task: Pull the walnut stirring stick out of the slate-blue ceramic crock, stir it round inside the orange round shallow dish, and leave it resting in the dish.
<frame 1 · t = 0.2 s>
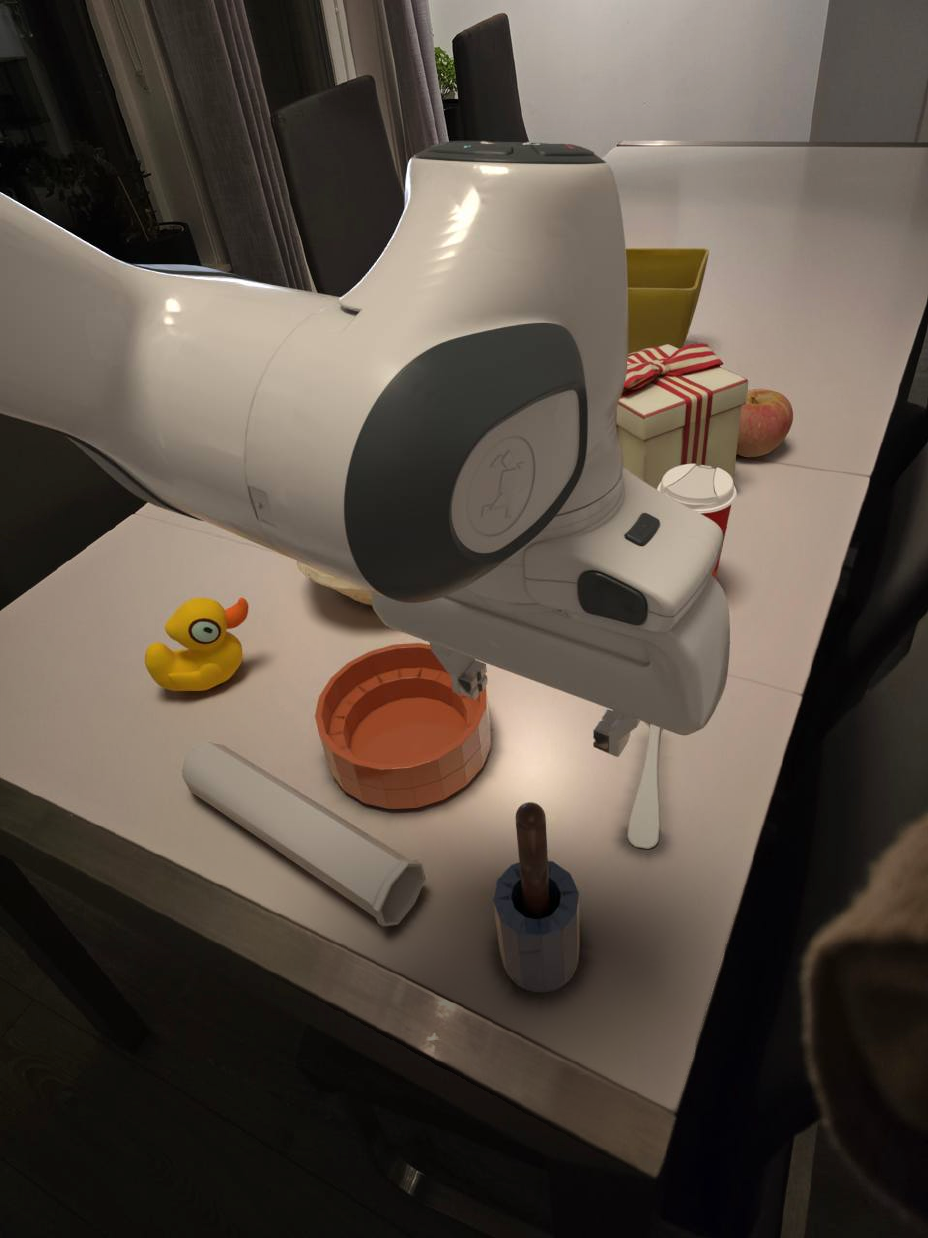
hand: (538, 716, 48), 22 cm above the table, tool pointing down, fingers open, 8 cm apart
duckling: (213, 681, 85), on the table
gift box: (641, 483, 106), on the table
apple: (750, 451, 110), on the table
orange round shallow dish: (410, 745, 75), on the table
stirring stick: (539, 950, 58), point 1 cm above the table, touching crock
bowl: (382, 587, 95), on the table
crock: (540, 954, 59), on the table
fork: (652, 751, 72), on the table
flower pot: (633, 374, 132), on the table
paper cup: (685, 592, 89), on the table
tube: (295, 839, 69), on the table
candle: (459, 399, 131), on the table
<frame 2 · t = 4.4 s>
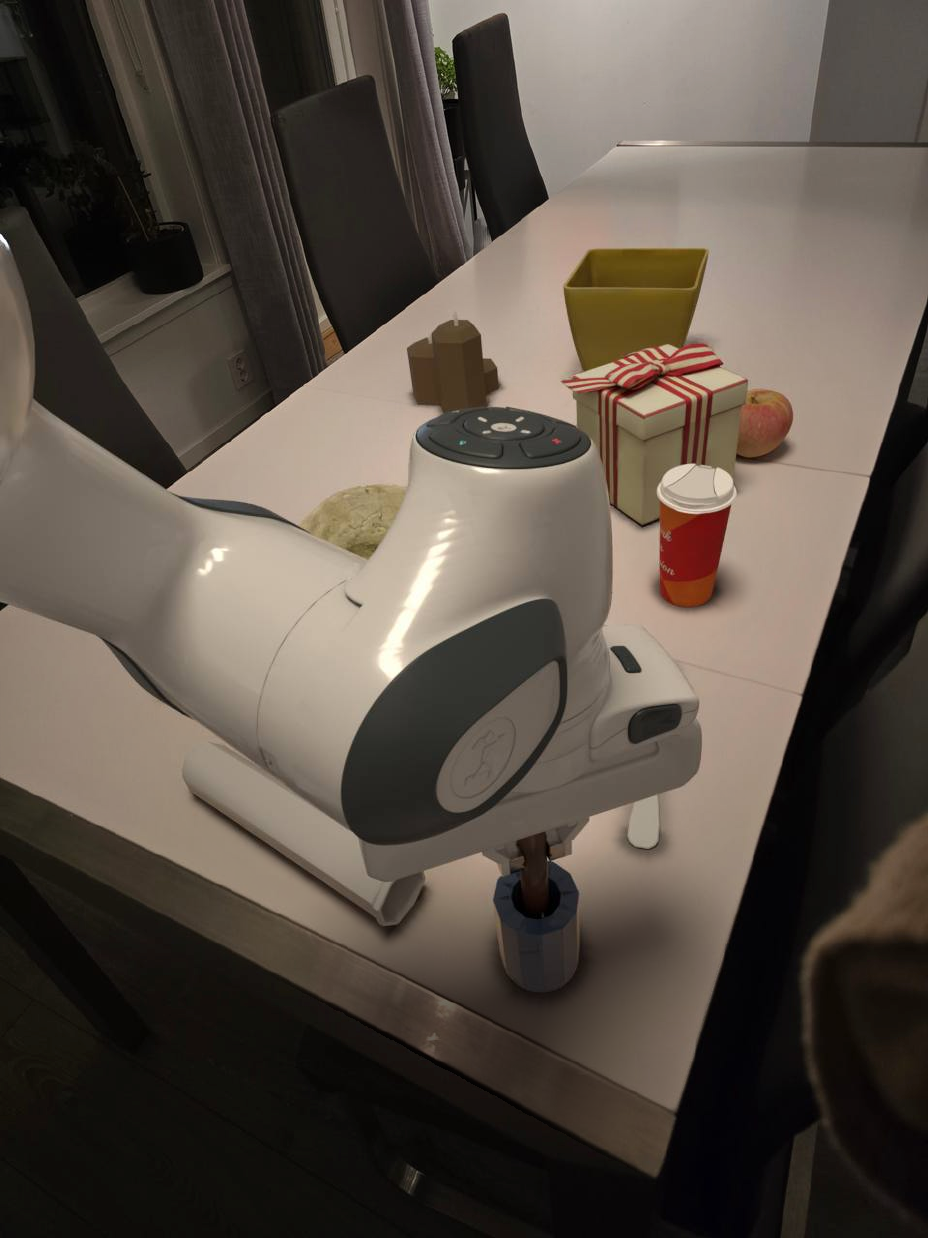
hand: (533, 857, 51), 13 cm above the table, tool pointing down, fingers closed on stirring stick, 2 cm apart
stirring stick: (539, 950, 58), point 1 cm above the table, touching crock, gripper
everything else where it was.
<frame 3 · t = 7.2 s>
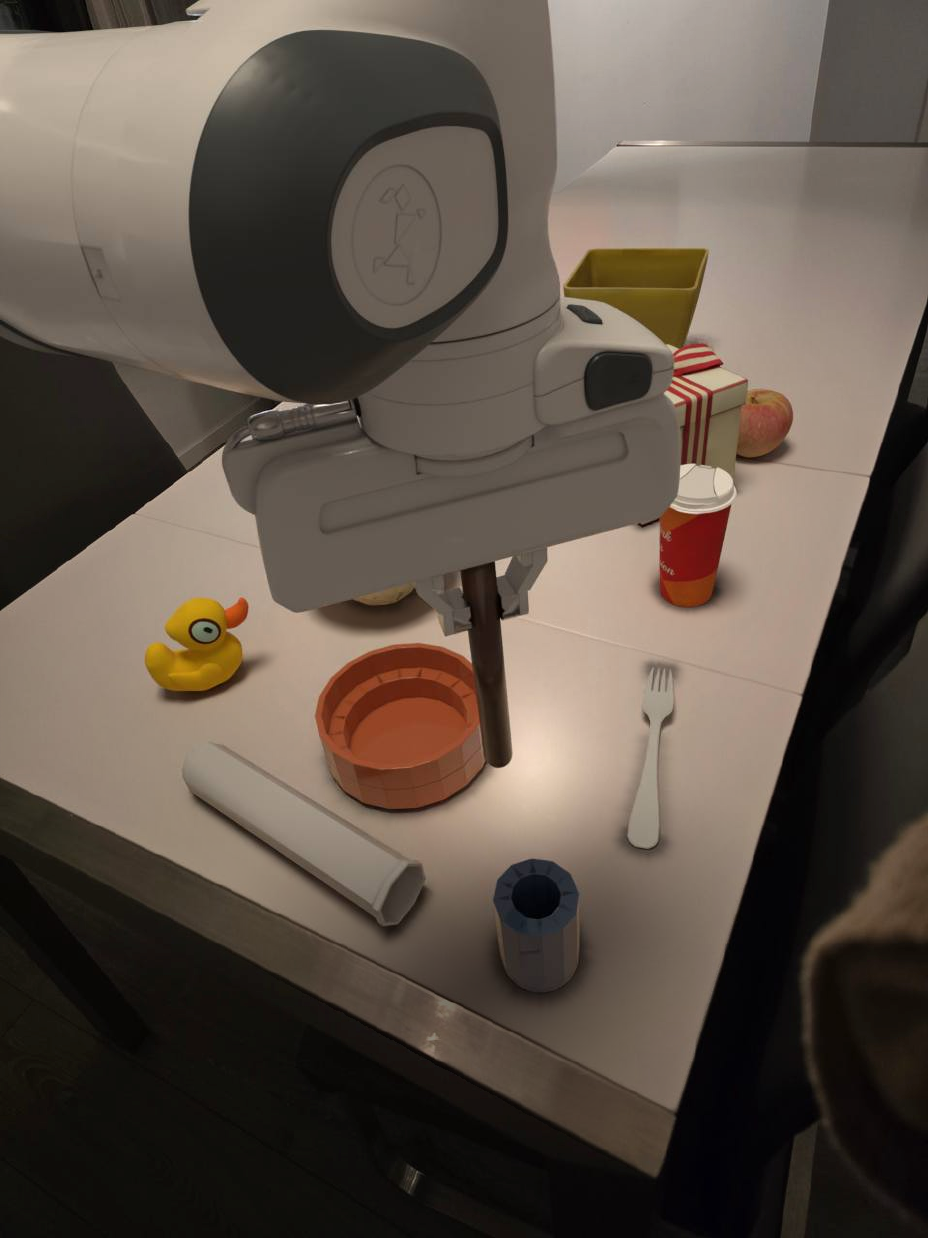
hand: (483, 618, 43), 29 cm above the table, tool pointing down, fingers closed on stirring stick
stirring stick: (499, 762, 51), point 17 cm above the table, touching gripper
everything else where it was.
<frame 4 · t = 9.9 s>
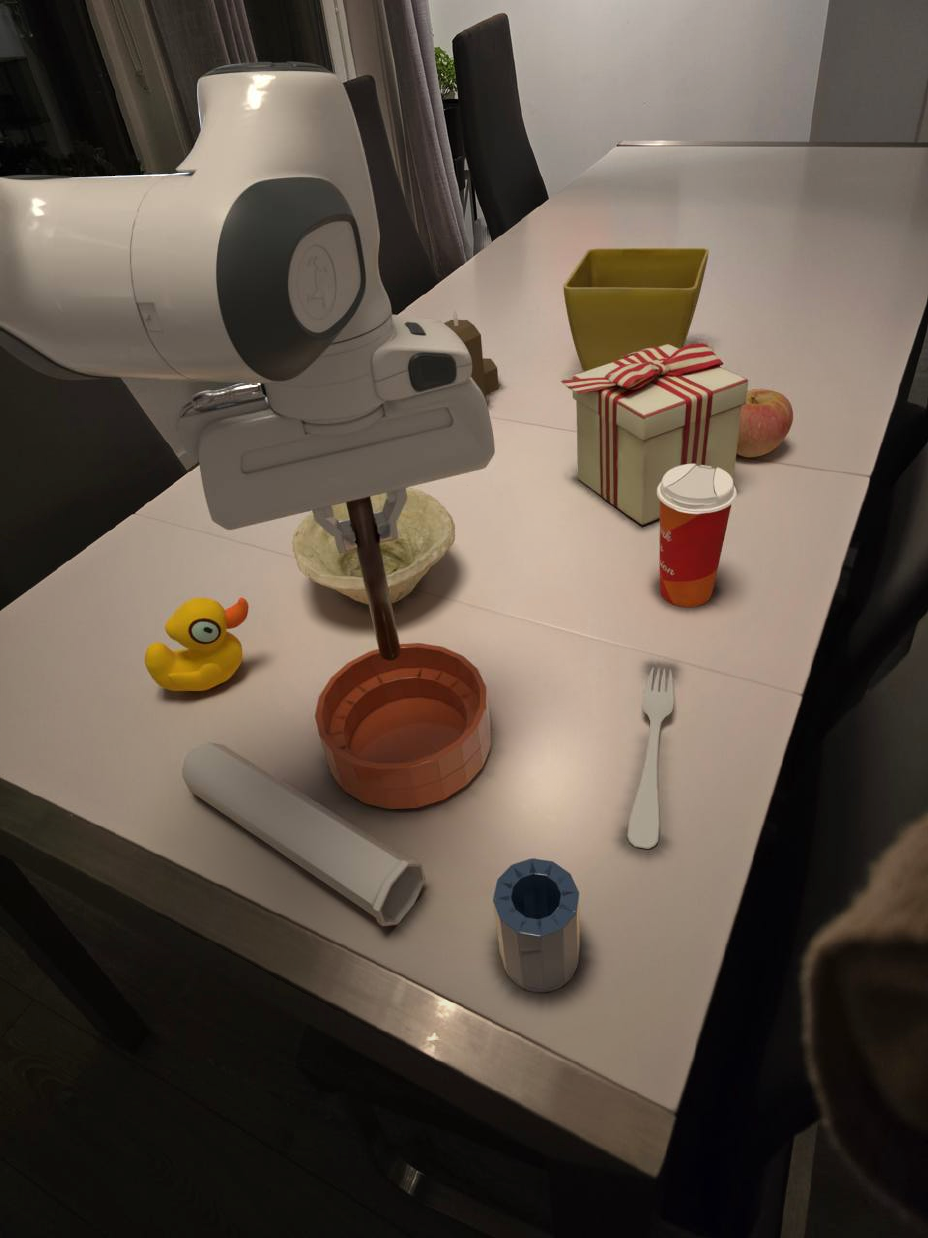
hand: (367, 542, 60), 23 cm above the table, tool pointing down, fingers closed on stirring stick
stirring stick: (391, 658, 68), point 11 cm above the table, touching gripper
everything else where it was.
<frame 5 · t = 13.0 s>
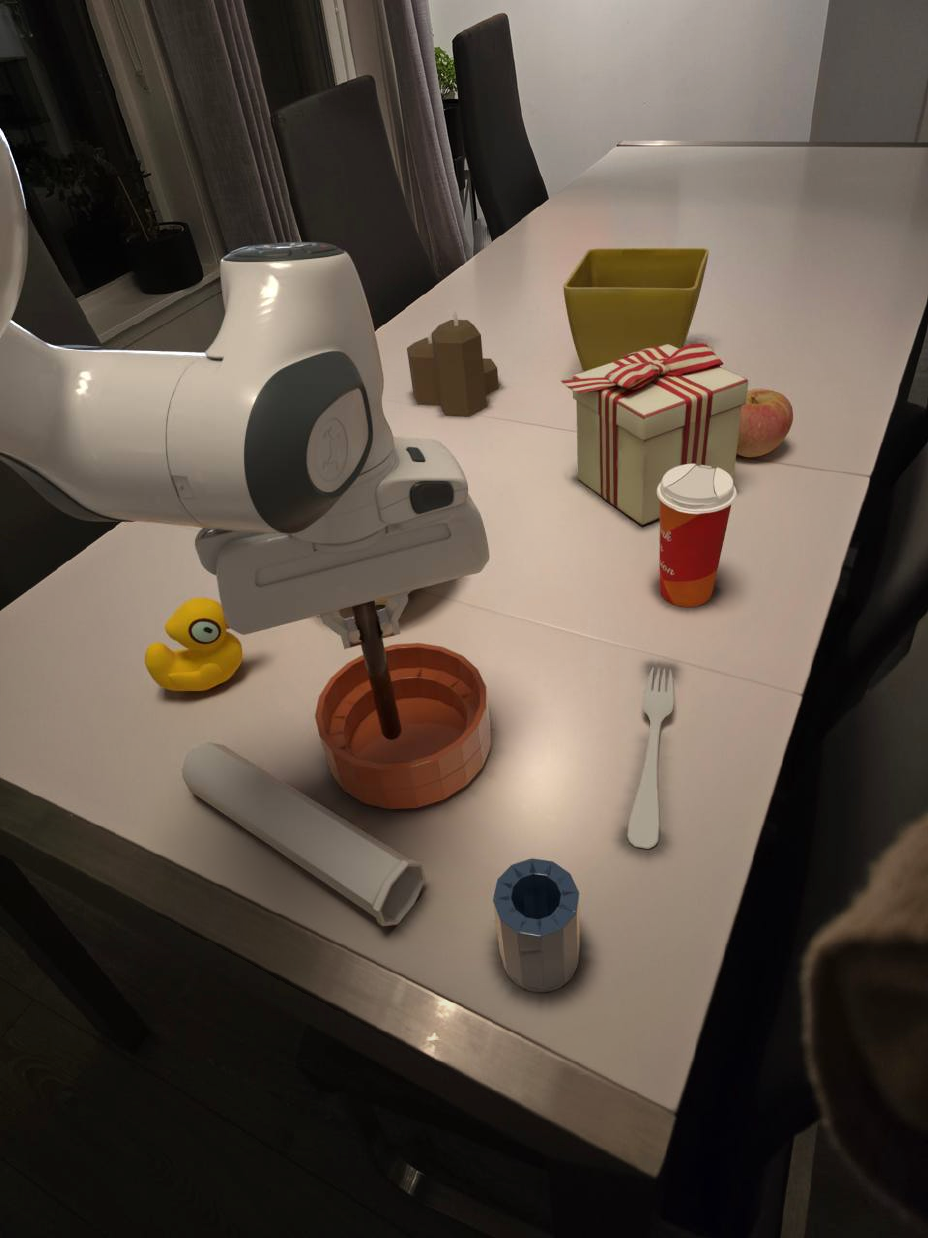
hand: (371, 637, 65), 15 cm above the table, tool pointing down, fingers closed on stirring stick, 2 cm apart
stirring stick: (393, 736, 72), point 3 cm above the table, touching gripper
everything else where it was.
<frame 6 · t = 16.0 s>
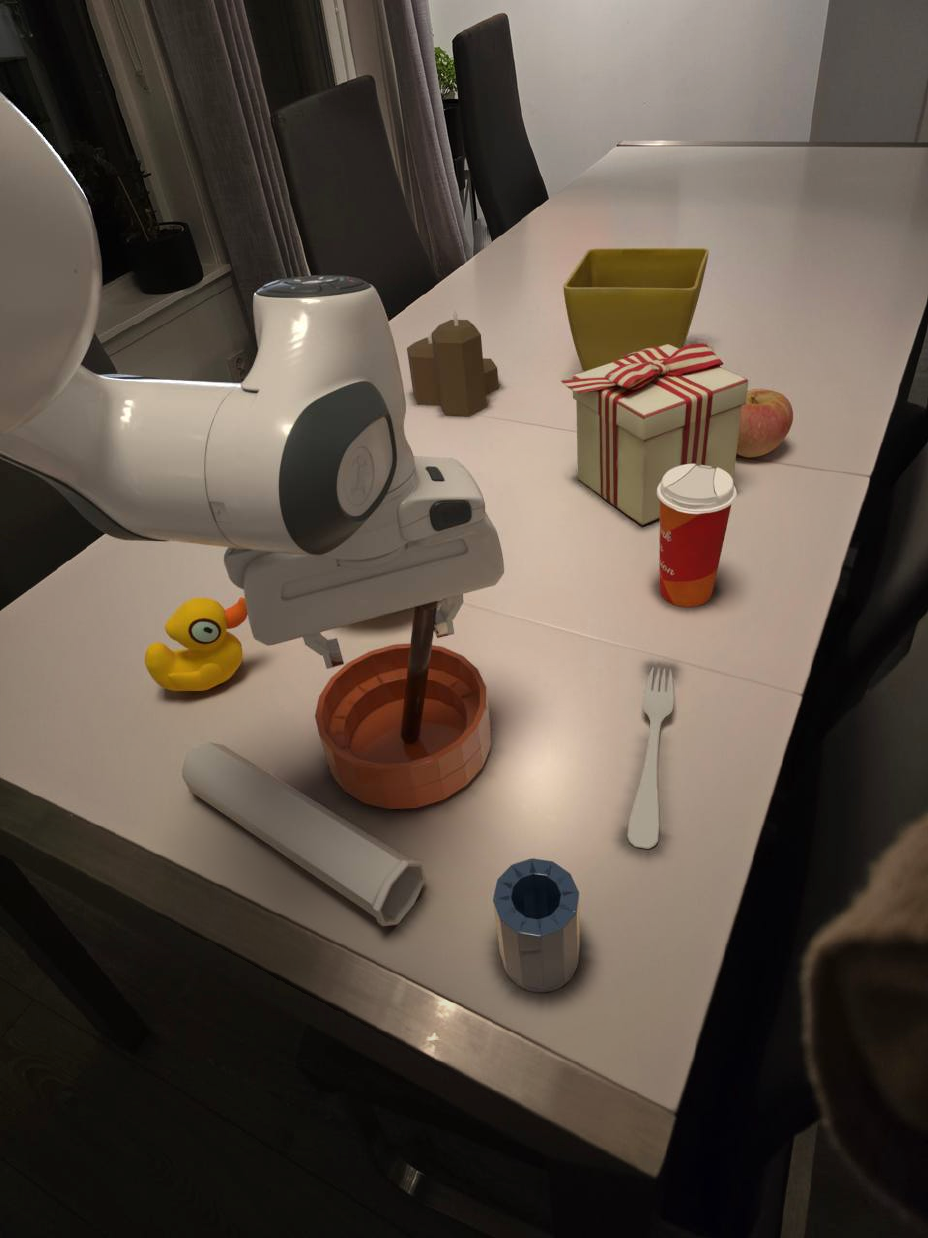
hand: (389, 646, 67), 13 cm above the table, tool pointing down, fingers open, 8 cm apart
stirring stick: (409, 740, 75), point 1 cm above the table, tilted 13°, touching gripper, orange round shallow dish
everything else where it was.
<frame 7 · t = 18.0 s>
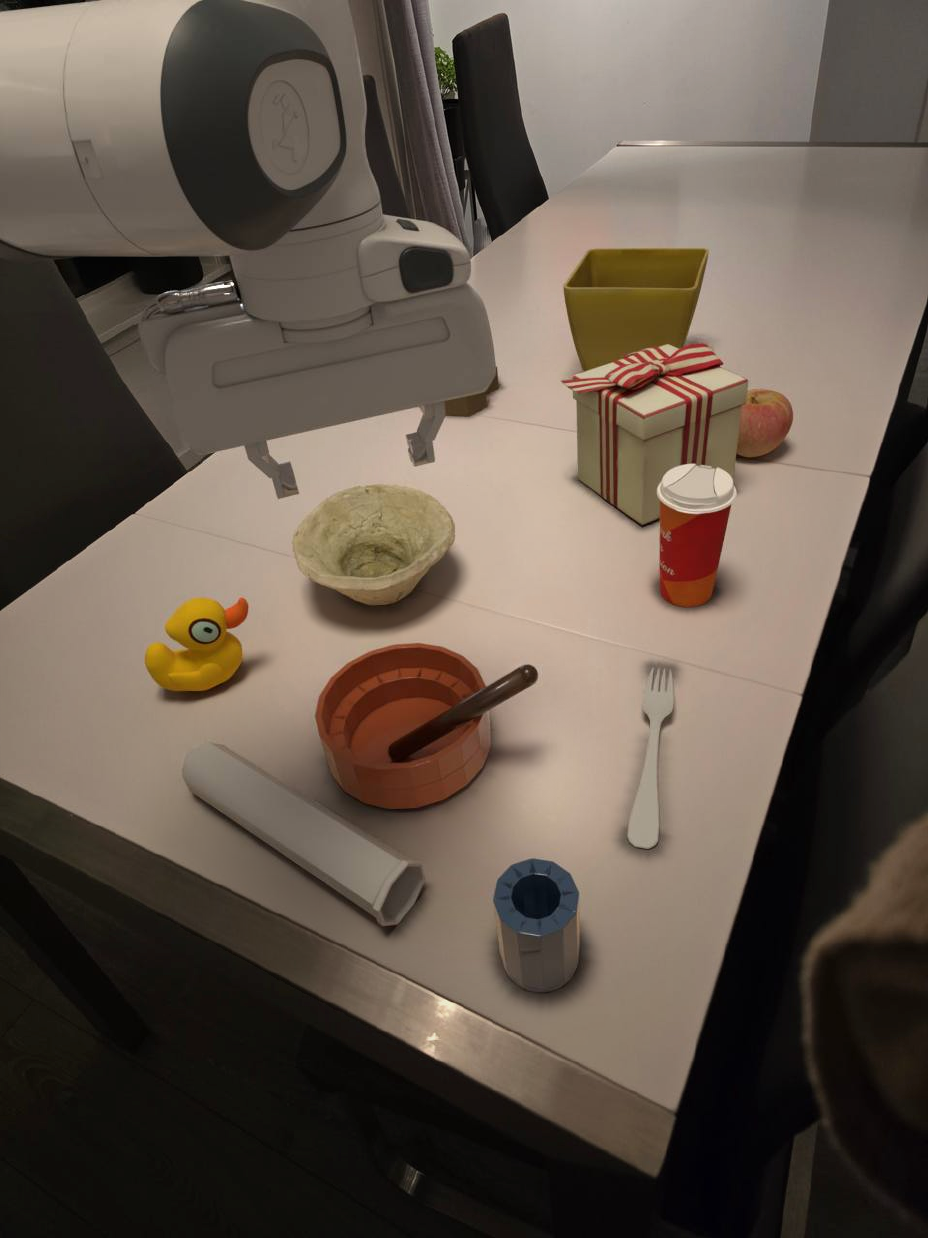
hand: (355, 476, 55), 30 cm above the table, tool pointing down, fingers open, 8 cm apart
stirring stick: (390, 755, 73), point 1 cm above the table, tilted 53°, touching orange round shallow dish
everything else where it was.
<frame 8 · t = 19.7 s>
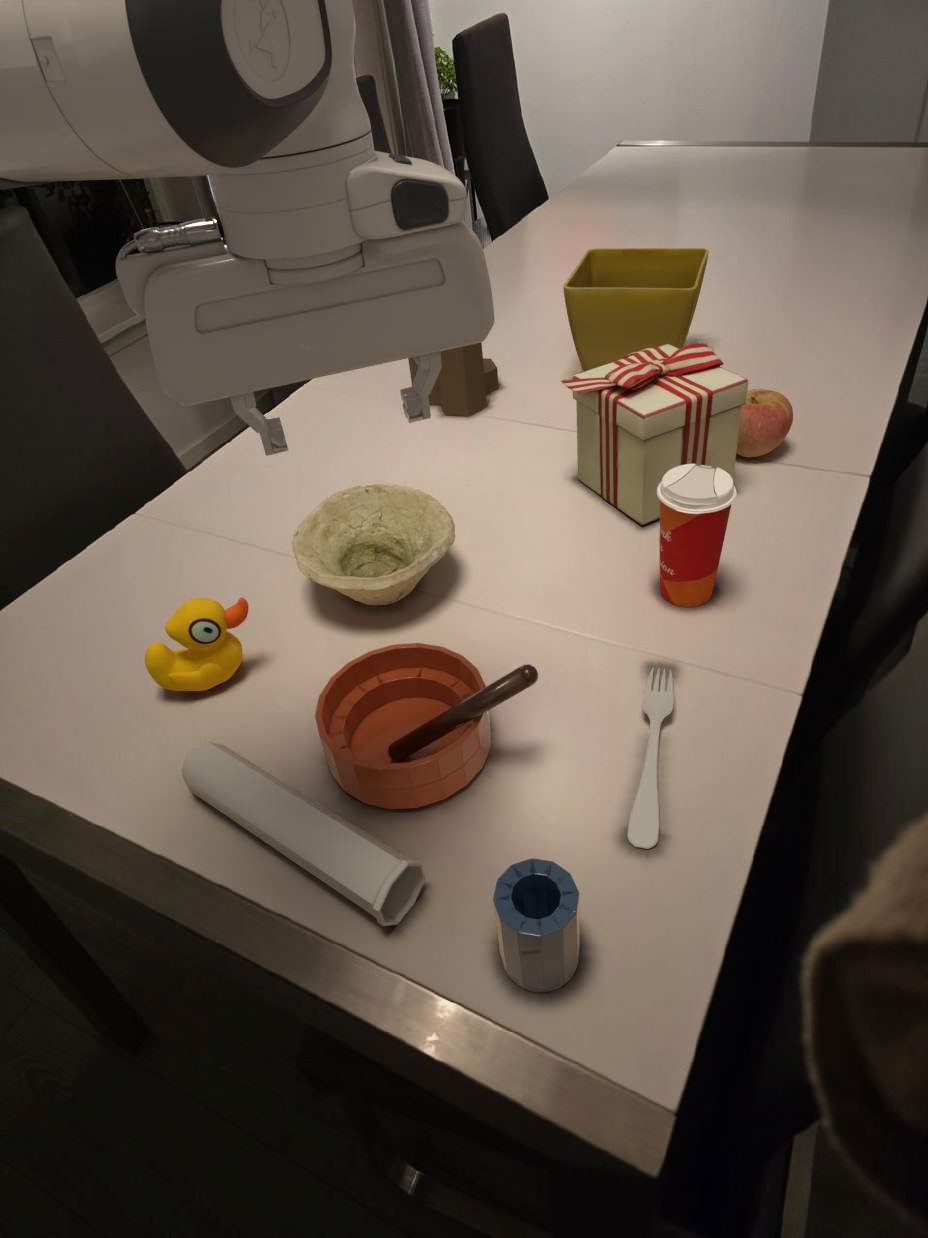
hand: (348, 433, 52), 33 cm above the table, tool pointing down, fingers open, 8 cm apart
nothing on the table moved.
at the end: stirring stick inside the target area in the orange round shallow dish (2.4 cm from its centre), point 1.0 cm above the orange round shallow dish's base; the gripper is holding nothing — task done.
